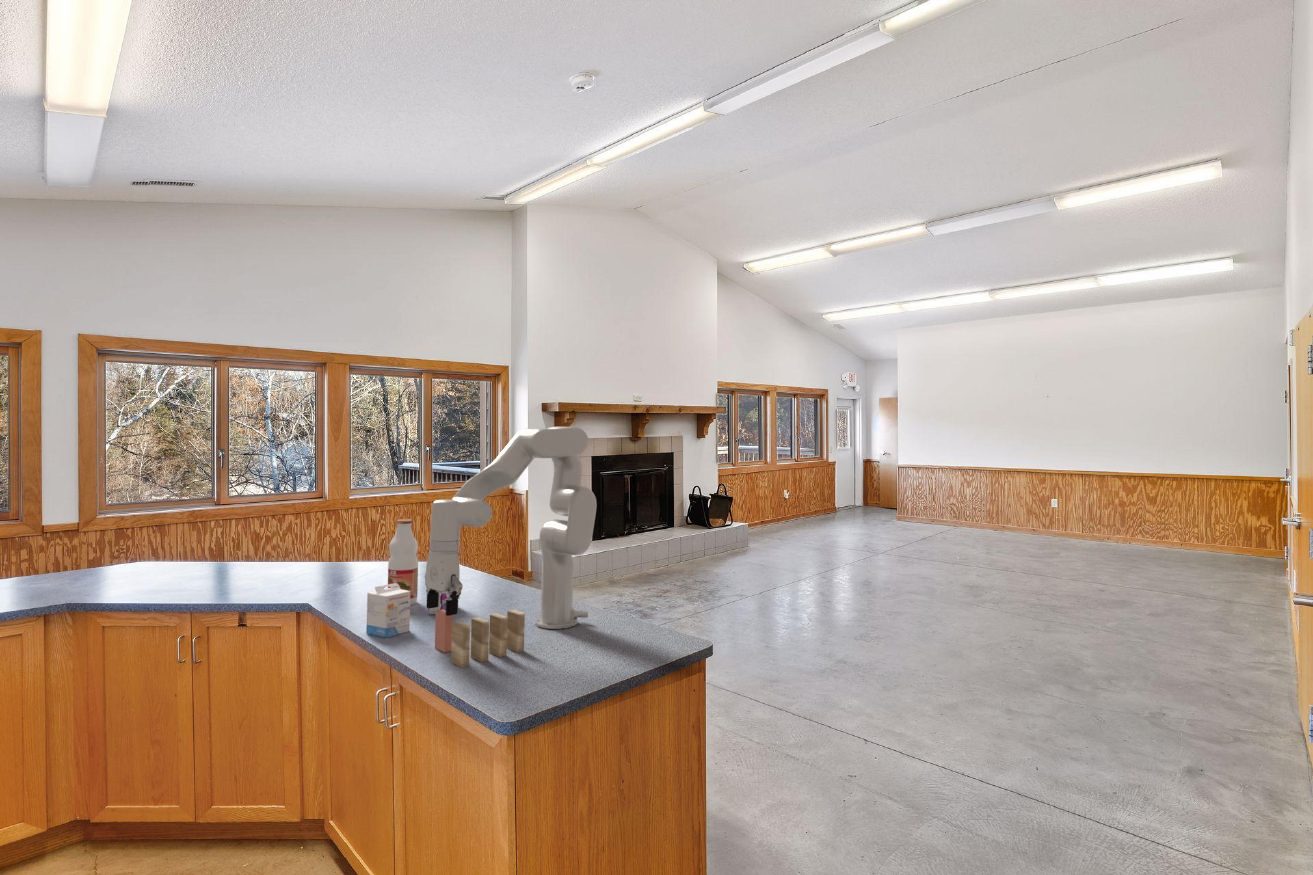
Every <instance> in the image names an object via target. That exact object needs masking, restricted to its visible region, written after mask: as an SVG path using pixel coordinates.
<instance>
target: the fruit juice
mask: <svg viewBox="0 0 1313 875" xmlns="http://www.w3.org/2000/svg"><path fill="white" fill-rule="evenodd" d="M412 524H413V520H412V519H411V518H410V519H409V518H408V519H407V518H403V519H402V518H401V519H400V518H399V519H396V523H395V525H396V526H397V527H396V529H395V534H394V536H393V538H392V539H391V540H390V542H389V544H388V552H389V554H390V555H389V556H390V557H389V559H388V563H387V585H389V584H393V583H397V584H398V585H399V587H400V588H401V589H402V590H407V591H411V592H410V606H413V605H416V604H417V603H418V593H419V592H418V590H419V588H418V587H419V586H418V583H419V559H418V556H417V553H418V550H419V543H418V541H417V540H416V538H415V536H414V533H413V530H412ZM387 588H391V587H387Z"/></svg>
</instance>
